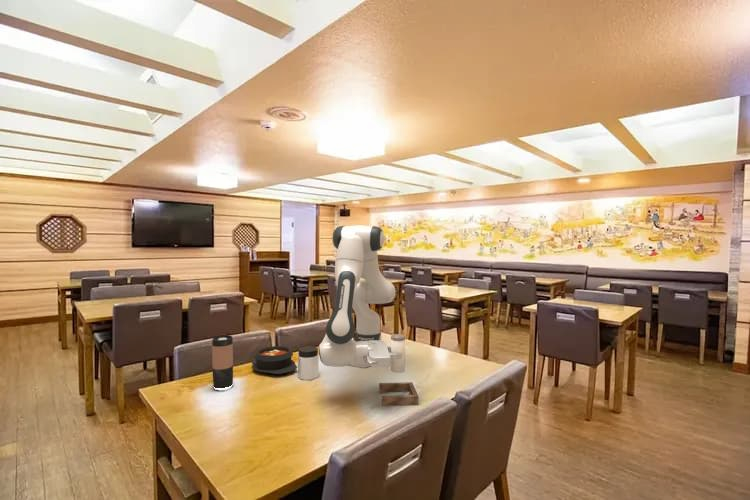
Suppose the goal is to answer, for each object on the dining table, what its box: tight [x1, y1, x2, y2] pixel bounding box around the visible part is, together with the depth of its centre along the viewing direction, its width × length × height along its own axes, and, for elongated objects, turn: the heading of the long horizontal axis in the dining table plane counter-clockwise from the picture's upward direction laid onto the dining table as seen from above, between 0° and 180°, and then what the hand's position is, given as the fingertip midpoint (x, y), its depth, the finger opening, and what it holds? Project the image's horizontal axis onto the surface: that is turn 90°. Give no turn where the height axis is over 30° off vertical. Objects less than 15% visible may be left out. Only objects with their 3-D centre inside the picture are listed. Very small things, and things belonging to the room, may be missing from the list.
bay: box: [378, 381, 420, 407], centre depth 139 cm, size 13×13×3 cm
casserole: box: [251, 345, 298, 375], centre depth 168 cm, size 25×19×8 cm
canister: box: [390, 333, 406, 374], centre depth 138 cm, size 5×5×13 cm
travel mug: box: [211, 334, 234, 388], centre depth 147 cm, size 8×8×20 cm
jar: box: [297, 345, 320, 381], centre depth 159 cm, size 9×8×12 cm
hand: (400, 352), depth 138 cm, fingers closed on canister, 5 cm apart
